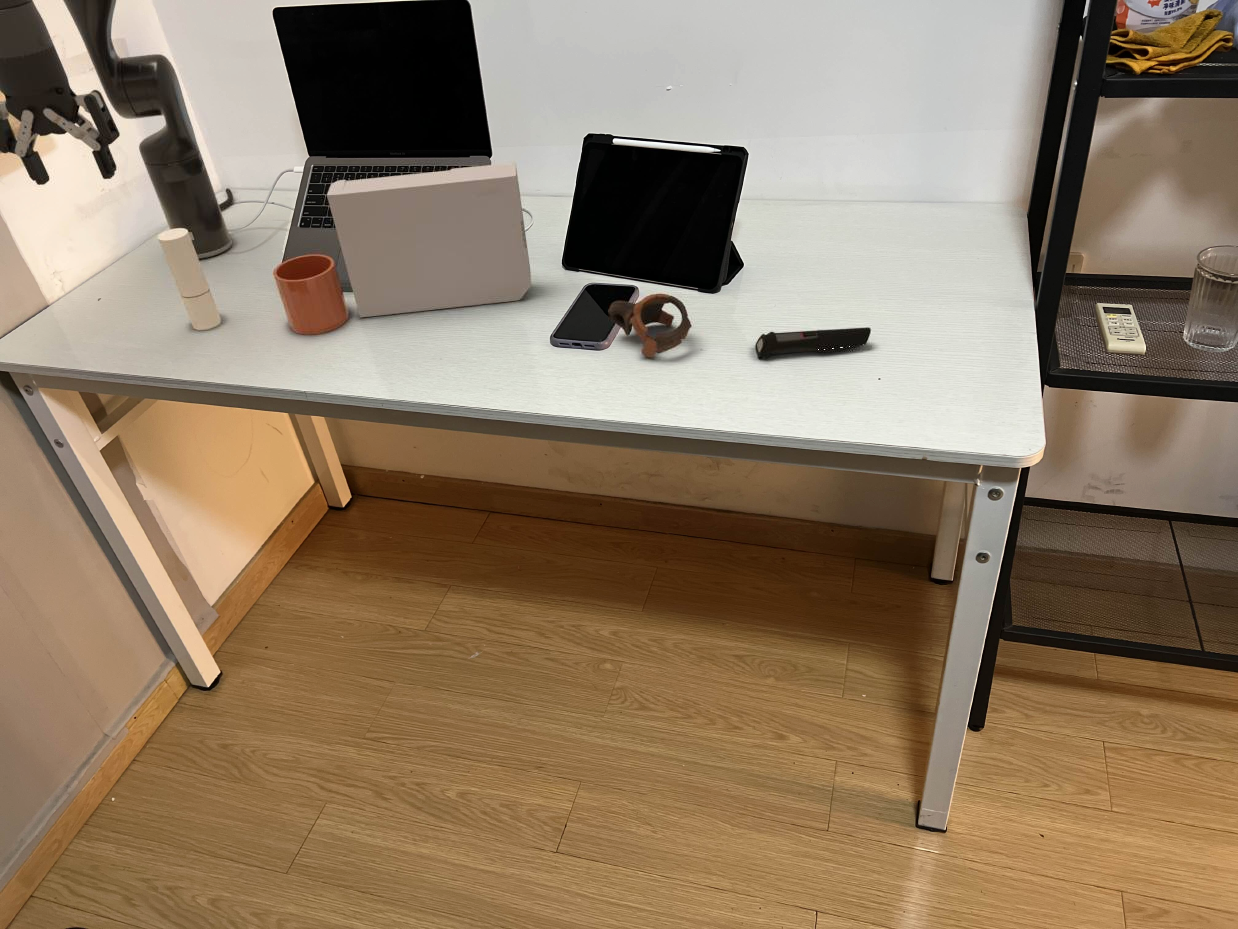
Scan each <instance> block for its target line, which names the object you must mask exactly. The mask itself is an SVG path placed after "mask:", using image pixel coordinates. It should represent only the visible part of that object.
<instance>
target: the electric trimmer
mask: <svg viewBox="0 0 1238 929" xmlns="http://www.w3.org/2000/svg"><path fill="white" fill-rule="evenodd" d="M871 332H872V328H871V327H868V326H867V327H852V328H850V327H849V328H835V329H817V330H801V331H785V332H784V331H783V332H774V331H769V332H768V333H767V334H765V333H762V334H761V335H759V337H758V338H757V341H756V342H755V346H754V348H755V349H754V350H755V353H756V357H757V358H762V359H764V360H765V359H767V358H768V357H769V356H770V355H777V354H787V353H800V352H809V351H816V352H819V353H828V352H835V351H841V350H844V349H851V348H857V347H861V346H864V345H867V343H868V341H869V339H870V336H871ZM863 344H864V345H863ZM849 346H850V347H849ZM840 347H843V348H840ZM832 348H834V349H832ZM818 349H819V350H818ZM824 349H825V350H824Z"/></svg>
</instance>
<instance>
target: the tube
mask: <svg viewBox="0 0 1238 929" xmlns="http://www.w3.org/2000/svg"><path fill="white" fill-rule="evenodd" d="M157 240H158V242H159V245H160V247H161V250H162V253H163V255H164V257H165V260H166V263H167V266H168V267H169V270H170V272H171V275H172V277H173V278H172V279H173V280H174V282H175V286H176V287H177V290H178V292H179V295H180V297H181V300H182V302H183V305H184V308H185V310H186V313H187V315H188V318H189V320H190V322H191V325H192V327H193V329H194V330H196V331H205V330H207V331H208V330H210V329H213V328H215V327H217V326H219V325H220V324H221V323H222V319H221V318H222V317H221V316H220V313H219V310H218V308H217V305H216V301H215V299H214V297H213V295H212V291H211V289H210V287H209V284H208V283H209V282H208V280H207V278H206V275H205V273H204V271H203V268H202V265H201V261H200V259H198V257H197V254H196V251H195V249H194V246H193V243H192V241H191V238H190V235H189V233H188V230H187V229H184V228H176V229H171V230H170V229H168V230H165V231H162V232H161V233H160V234H158V235H157Z"/></svg>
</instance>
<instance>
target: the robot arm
mask: <svg viewBox="0 0 1238 929" xmlns="http://www.w3.org/2000/svg"><path fill="white" fill-rule="evenodd" d="M62 1H63V3H64V5H65V7H66V8H67V11H68V12H69V14H70V16H71V18H72V20H73V23H74V24H75V26H76V28H77V30H78V33H79V35H80V37H81V40H82V43H83V44H84V46H85V49H86V51H87V53H88V56H89V58H90V61H91V63H92V65H93V68H94V70H95V73H96V75H97V77H98V80H99V82H100V84H101V87H102V89H103V91H104V95H105V96H106V98H107V100H108V102H109V103H110V105H111V107H112V108H113V110H114V111H115V112H116V113H117V115H119V116H120V118H123V119H126V120H127V119H128V120H135V119H137V120H138V119H145V118H154V117H161V116H163V118H164V121H165V122H164V123H165V125H164V126H163V127H162V128H161V129H159V130H158V131H156V132H154V133H152V134H150V135H149V136H146V137H144V139H142V141H140V143H139V146H138V150H139V153H140V156H141V159H142V162H143V163H144V167H145V168H146V169H145V170H146V171H147V174H148V177H149V179H150V181H151V184H152V186H153V189H154V191H155V194H156V197H157V200H158V202H159V204H160V205H159V206H160V207H161V210H162V212H163V214H164V215H163V216H164V217H165V220H166V223H167V225H168V228H169V230H171V229H176V228H184V229H187V230H188V233H189V235H190V238H191V241H192V243H193V246H194V249H195V251H196V254H197V257H198V259H199V260H200V259H202V260H203V259H207V258H211V257H214V256H218V255H220V254H223V253H224V252H226V251H227V250H228V249H230V248H231V247H232V245H233V240H232V237H231V236H230V234H229V233H230V232H229V230H228V228H227V225H226V224H227V223H226V222H225V218H224V216H223V212H222V210H223V209H225V208H227V207H229V205H231V204H232V202H233V200H234V196H233V192H232V190H231V189H230V188H228V187H227V188H226V189H225V193H226V195H227V199H226V200H224V201H223V202H221V203H219V201H218V198H217V196H216V193H215V190H214V187H213V184H212V182H211V178H210V176H209V173H208V170H207V168H206V164H205V162H204V159H203V156H202V153H201V150H200V147H199V144H198V142H197V138H196V134H195V130H194V128H193V125H192V121H191V119H190V115H189V112H188V108H187V105H186V102H185V99H184V95H183V91H182V88H181V84H180V80H179V78H178V75H177V73H176V70H175V68H174V66H173V64H172V62H171V61H170V60H169V58H168V57H167V56H165V55H163V54H158V53H155V54H145V55H144V54H143V55H136V56H126V57H120V56H119V55H118V53H117V51H116V49H115V46H114V42H113V39H112V26H113V18H114V13H115V9H116V8H115V7H116V3H117V0H62ZM0 93H2V94H3V95H4V100H0V152H1V153H3V154H8V153H9V154H14V155H16V156H18V157H19V158H20V159H21V162H22V165H23V166H24V169H25V170H26V172H27V174H28V176H29V178H30V179H31V180H32V181H33V182H35V184H36V185H37V186H41V185H42V186H44V185H46V184H47V183H48V182H49V181H50V175H49V173H48V171H47V168H46V167H45V165H44V162H43V159H42V158H41V155H40V154H39V151H38V150H34V148H35V145H36V142H37V138H38V136H39V137H47V136H49V135H51V134H53V135H59V136H60V135H66V134H69V135H71V136H72V137H73V138H74V139H76V140H80V141H81V142H83V143H84V144H85V145H86V146H88V147H89V148H90V149H91V150H92V151H91V153H92V156H93V159H94V161H95V163H96V165H97V168H98V170H99V172H100V175H101V177H102V179H103V180H111V179H112V178H113V177H114V176H115V175H116V171H117V164H116V162H115V159H114V156H113V154H112V152H111V149H110V145H112V144H113V143H114V142H115V141H116V140H117V139H119V138H120V137H121V134H120V131H119V129H118V127H117V124H116V123H115V121H114V118H113V116H112V114H111V112H110V109H109V107H108V105H107V103H106V101H105V99H104V96H103V94H102V92H100V90H98V89H93V90H92V91H90V92H89V93H84V94H76V93H75V91H74V90H73V89H72V88H71V85H70V82H69V78H68V75H67V73H66V70H65V68H64V65H63V63H62V61H61V58H60V56H59V54H58V52H57V49H56V46H55V45H54V42H53V40H52V37H51V34H50V33H49V30H48V28H47V25H46V23H45V21H44V19H43V17H42V14H41V13H40V11H39V9H38V8H37V6H36V5H35V2H34V0H0ZM80 107H82V108H83V109H84V112H85V113H88V114H89V115H90V117H91V119H92V121H93V123H94V124H93V123H92V122H91V120H89V119H88V118H87V117H85V116H84V115H83V114H82V113H80V112H79V110H80ZM9 114H10V115H11V116H12V117H13V118H14V119H16V120H17V121H19V123H20V124H19V127H18V131H17V134H16V136H15V133H14V130H13V127H12V126H11V123H10V121H9V117H10V115H9ZM94 125H95V126H94Z"/></svg>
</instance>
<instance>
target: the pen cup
mask: <svg viewBox="0 0 1238 929" xmlns="http://www.w3.org/2000/svg"><path fill="white" fill-rule="evenodd" d="M272 276H273V279H274V282H275V286H276V288H277V291H278V294H279V297H280V300H281V303H282V307H283V310H284V313H285V315H286V319H287V321H288V324H289V327H290V329H291V331H293V332H294V333H297V334H300V335H306V336H310V335H320V334H325V333H328V332H331V331H334V330H335V329H338V328H340V327H341V326H343V325H344V324H346V322H347V321H348V319H349V317H350V316H349V315H350V314H349V308H348V305H347V302H346V298H345V295H344V290H343V287H342V284H341V280H340V277H339V273H338V270H337V265H336V262H335V260H334V258H332V257H330V256H329V255H324V254H317V253H316V254H315V253H313V254H305V255H300V256H296V257H292V258H289V259H287V260H285V261H283V262H281V263H279V264H278V265H277V266H276V267H275V268H274V269H273V272H272Z"/></svg>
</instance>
